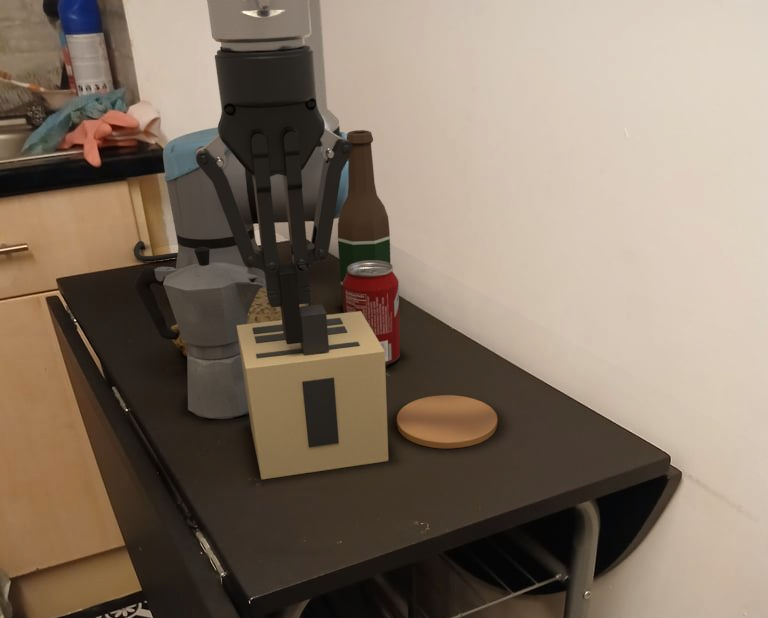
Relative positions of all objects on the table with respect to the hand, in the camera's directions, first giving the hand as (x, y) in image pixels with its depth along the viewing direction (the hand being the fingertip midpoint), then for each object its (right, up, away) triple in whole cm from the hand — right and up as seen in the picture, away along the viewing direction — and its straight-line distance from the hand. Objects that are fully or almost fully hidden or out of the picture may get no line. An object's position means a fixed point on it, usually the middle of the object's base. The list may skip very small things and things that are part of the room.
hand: (293, 337), depth 74 cm
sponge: (-10, +6, +34) cm, 36 cm away
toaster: (+1, -9, +11) cm, 14 cm away
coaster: (+15, -6, +13) cm, 21 cm away
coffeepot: (-11, -3, +20) cm, 23 cm away
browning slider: (+2, -1, +1) cm, 2 cm away
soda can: (+7, +3, +28) cm, 29 cm away
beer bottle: (+6, +13, +43) cm, 46 cm away
